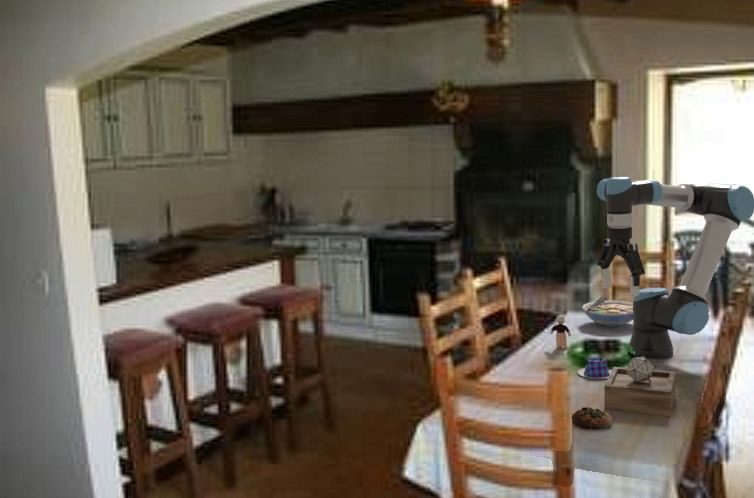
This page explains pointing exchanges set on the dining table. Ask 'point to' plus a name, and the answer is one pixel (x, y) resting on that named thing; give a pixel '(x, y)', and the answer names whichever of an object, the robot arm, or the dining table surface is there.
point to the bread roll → (591, 418)
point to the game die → (640, 369)
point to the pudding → (595, 369)
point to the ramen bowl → (609, 312)
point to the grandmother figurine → (561, 333)
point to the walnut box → (640, 393)
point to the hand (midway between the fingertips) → (620, 292)
